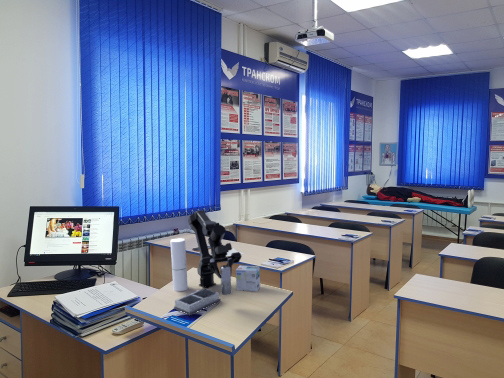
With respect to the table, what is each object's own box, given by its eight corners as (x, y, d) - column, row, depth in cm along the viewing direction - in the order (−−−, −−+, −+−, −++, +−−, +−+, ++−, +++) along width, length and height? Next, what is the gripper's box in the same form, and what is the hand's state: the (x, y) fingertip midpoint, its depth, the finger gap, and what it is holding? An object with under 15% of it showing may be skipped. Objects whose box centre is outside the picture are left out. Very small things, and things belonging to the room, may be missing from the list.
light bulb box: (260, 286, 187) (259, 266, 186) (257, 292, 181) (256, 270, 180) (240, 285, 190) (239, 264, 189) (236, 290, 184) (235, 269, 182)
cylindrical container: (189, 285, 192) (186, 238, 189) (185, 291, 185) (182, 242, 182) (175, 285, 192) (172, 238, 189) (171, 291, 185) (168, 242, 182)
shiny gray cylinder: (226, 290, 168) (225, 264, 166) (233, 292, 165) (232, 266, 164) (219, 293, 165) (218, 267, 163) (226, 295, 162) (225, 269, 160)
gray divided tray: (204, 295, 179) (203, 287, 178) (220, 301, 171) (220, 292, 171) (174, 309, 165) (173, 300, 164) (190, 315, 158) (189, 306, 157)
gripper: (199, 240, 163) (208, 272, 154) (239, 234, 171) (249, 265, 162) (195, 253, 171) (204, 284, 163) (233, 247, 179) (243, 276, 170)
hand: (225, 277), depth 164 cm, fingers closed on shiny gray cylinder, 4 cm apart
